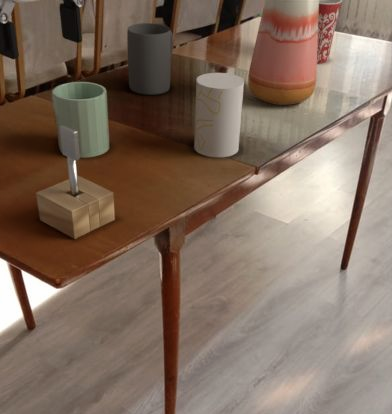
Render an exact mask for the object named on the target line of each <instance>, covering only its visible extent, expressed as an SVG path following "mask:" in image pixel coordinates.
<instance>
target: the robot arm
mask: <svg viewBox="0 0 392 414" xmlns="http://www.w3.org/2000/svg"><path fill="white" fill-rule="evenodd" d="M39 1H40V0H0V56H3V57H6V58H8V59H11V60H17V59H19V56H20V54H19V48H18V47H19V46H18V41H17V35H16V34H17V33H16V29H15V24H14V22H13V21H10V17H11V15H12V12H13V10H14V9H15V6H16V4H17V3H19V4H28V3H33V2H34V3H35V2H39ZM84 4H85V1H84V0H62V2H61V3H59V7H58V8H59V17H60V18H59V19H60V28H61V35H62V38H63V39H65V40H68V41H70V42H74V43H75V44H76V43H77V44H78V43H79V44H80V43H82V42H83V33H82V22H81V21H82V19H81V8H82V7H83V5H84Z"/></svg>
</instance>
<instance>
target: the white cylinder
mask: <svg viewBox="0 0 392 414" xmlns="http://www.w3.org/2000/svg"><path fill="white" fill-rule="evenodd" d="M244 84H245V81H244V78H242V77H240V76H238V75H237V74H236V75H235V74H231V73H226V72H208V73H204V74H201V75H199V76H197V78H196V83H195V85H196V86H195V111H194V112H195V113H194V114H195V115H194V117H195V118H194V140H193V141H194V142H193V144H194V145H193V149H194V151H195V152H197V153H198V154H199V155H203V156H206V157H209V158H228V157H231V156H234V155H236V154H237V153H238V152H239V146H240V134H241V121H242V109H243V97H244V88H245V87H244V86H245V85H244Z"/></svg>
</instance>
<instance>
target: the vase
mask: <svg viewBox="0 0 392 414" xmlns="http://www.w3.org/2000/svg"><path fill="white" fill-rule="evenodd" d="M318 15H319V0H264V5H263V9H262V12H261V17H260V21H259V26H258V30H257V34H256V37H255V38H256V39H255V43H254V48H253V52H252V55H251V61H250V65H249V70H248V76H247V87H248V90H249V92H250V93H251V94H252V95H253V96H254V97H255V98H257V99H258V100H260V101H263V102H265V103H267V104H272V105H280V106H289V105H296V104H299V103H302V102H304V101H306V100H308V99H309V98H310V97H311V96H312V95H313V94H314V92H315V90H316V85H317V77H318V76H317V73H318V63H317V47H318Z"/></svg>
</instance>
